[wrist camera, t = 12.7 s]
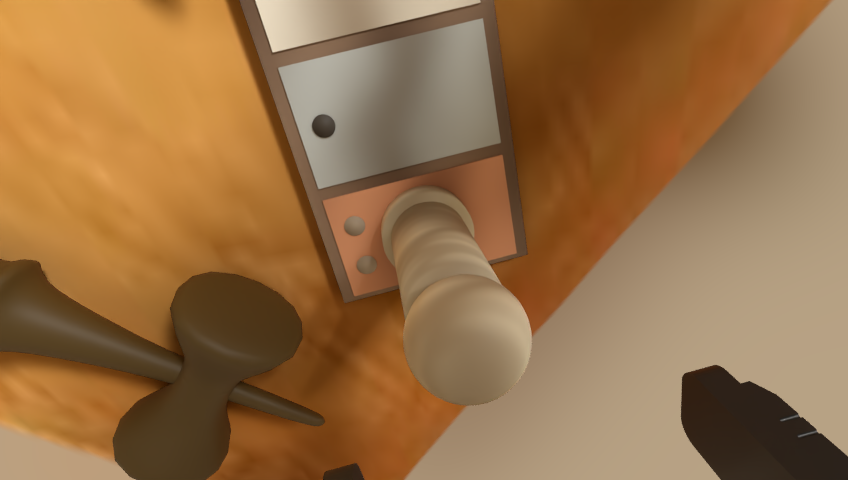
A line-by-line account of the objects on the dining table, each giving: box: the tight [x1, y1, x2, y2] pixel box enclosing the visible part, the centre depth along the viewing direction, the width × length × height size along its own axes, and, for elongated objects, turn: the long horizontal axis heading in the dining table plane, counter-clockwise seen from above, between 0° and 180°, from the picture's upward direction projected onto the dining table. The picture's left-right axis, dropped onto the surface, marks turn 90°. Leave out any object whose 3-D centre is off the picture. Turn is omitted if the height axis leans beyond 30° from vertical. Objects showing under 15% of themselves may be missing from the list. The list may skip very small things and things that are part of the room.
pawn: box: [381, 185, 532, 405], centre depth 18 cm, size 4×4×11 cm
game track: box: [239, 0, 528, 303], centre depth 21 cm, size 10×18×1 cm, turn 13°
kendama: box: [0, 259, 325, 480], centre depth 21 cm, size 6×10×20 cm
